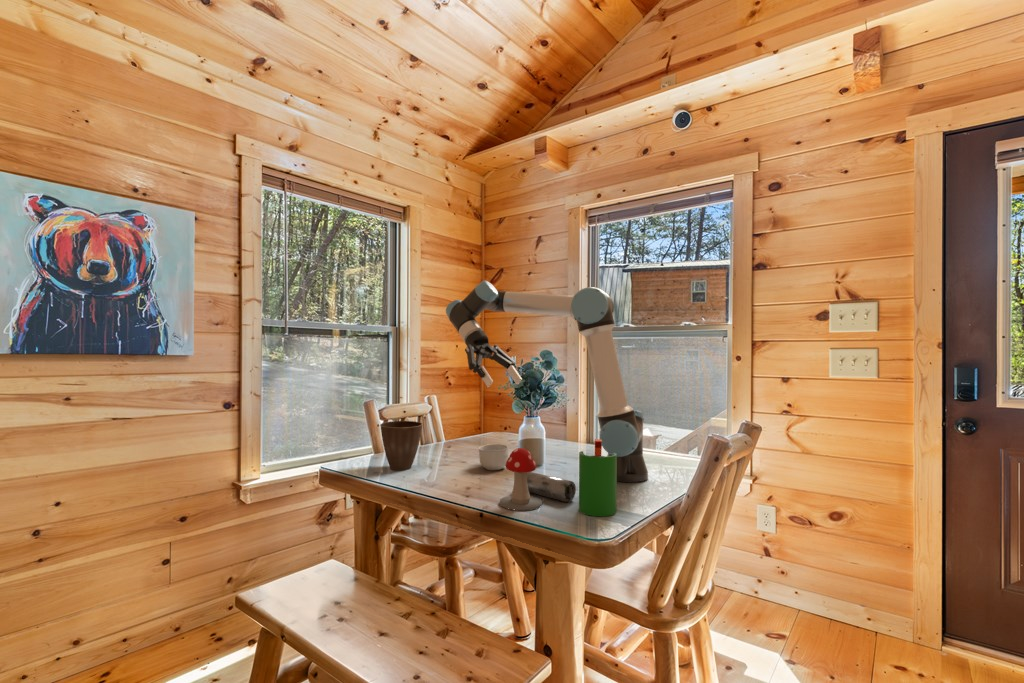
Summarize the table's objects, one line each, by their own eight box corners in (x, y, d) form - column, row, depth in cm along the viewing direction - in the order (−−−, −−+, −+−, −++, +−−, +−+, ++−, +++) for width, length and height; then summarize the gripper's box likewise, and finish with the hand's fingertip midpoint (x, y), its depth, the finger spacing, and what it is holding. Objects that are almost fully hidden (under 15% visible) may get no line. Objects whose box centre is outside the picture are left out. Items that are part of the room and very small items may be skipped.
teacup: (510, 471, 185) (510, 449, 185) (480, 472, 183) (480, 449, 183) (504, 462, 198) (504, 441, 198) (476, 463, 197) (476, 442, 197)
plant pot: (425, 463, 196) (425, 420, 196) (418, 473, 181) (418, 427, 181) (385, 463, 196) (385, 420, 196) (375, 473, 181) (375, 427, 181)
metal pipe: (528, 487, 164) (528, 468, 164) (576, 500, 152) (576, 479, 152) (515, 491, 160) (515, 472, 160) (563, 504, 147) (564, 483, 147)
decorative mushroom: (500, 497, 151) (501, 445, 151) (528, 494, 154) (529, 444, 154) (511, 507, 142) (512, 452, 142) (541, 504, 145) (541, 450, 145)
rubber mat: (519, 495, 156) (519, 492, 156) (550, 503, 148) (550, 501, 148) (490, 504, 147) (490, 501, 147) (522, 513, 139) (522, 510, 139)
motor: (612, 506, 147) (613, 435, 147) (620, 516, 138) (620, 441, 138) (576, 506, 146) (577, 435, 146) (582, 516, 137) (582, 441, 137)
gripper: (494, 344, 190) (524, 388, 180) (440, 344, 171) (471, 393, 161) (504, 329, 186) (536, 373, 176) (451, 328, 168) (483, 377, 158)
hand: (505, 383), depth 169 cm, fingers open, 13 cm apart
